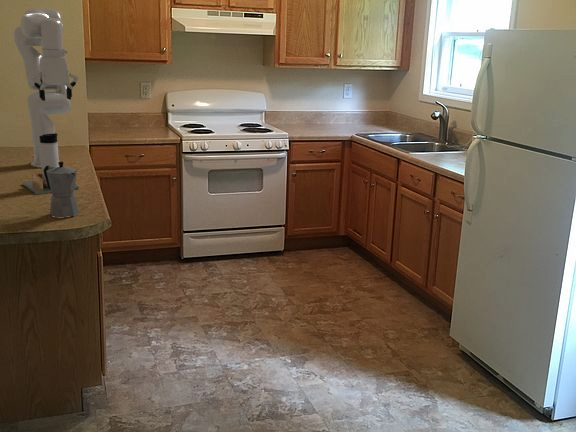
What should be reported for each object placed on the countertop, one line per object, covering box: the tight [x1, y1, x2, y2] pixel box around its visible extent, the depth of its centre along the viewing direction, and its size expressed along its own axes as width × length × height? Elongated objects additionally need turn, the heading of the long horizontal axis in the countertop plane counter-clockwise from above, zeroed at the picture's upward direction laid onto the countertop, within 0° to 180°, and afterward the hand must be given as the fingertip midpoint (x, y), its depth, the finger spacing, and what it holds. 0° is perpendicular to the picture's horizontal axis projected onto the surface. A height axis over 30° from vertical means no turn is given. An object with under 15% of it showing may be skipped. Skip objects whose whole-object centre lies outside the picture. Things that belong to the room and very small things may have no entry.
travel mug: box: [39, 133, 60, 187], centre depth 238 cm, size 6×7×20 cm
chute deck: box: [21, 172, 80, 195], centre depth 242 cm, size 17×16×5 cm
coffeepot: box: [44, 160, 80, 217], centre depth 208 cm, size 15×9×18 cm, turn 57°
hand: (56, 99), depth 242 cm, fingers open, 9 cm apart
